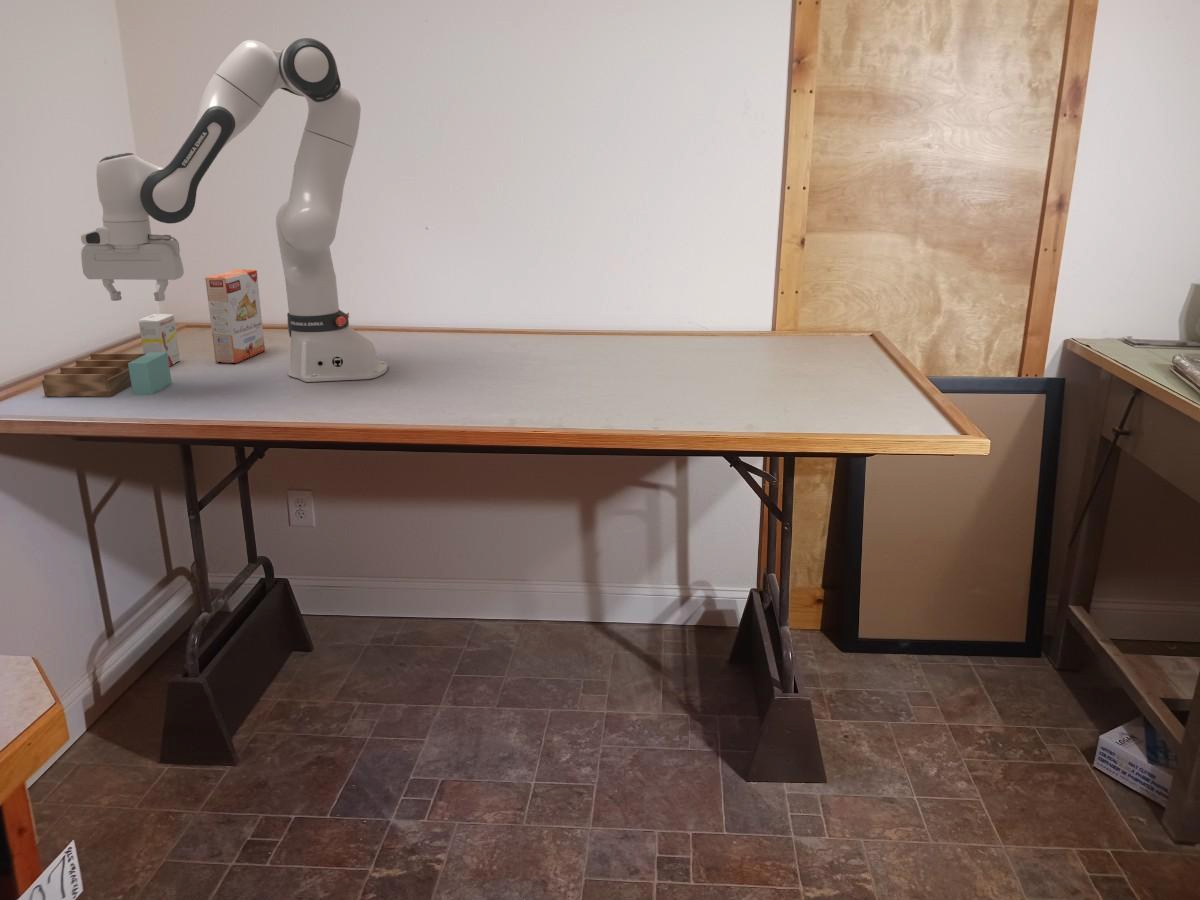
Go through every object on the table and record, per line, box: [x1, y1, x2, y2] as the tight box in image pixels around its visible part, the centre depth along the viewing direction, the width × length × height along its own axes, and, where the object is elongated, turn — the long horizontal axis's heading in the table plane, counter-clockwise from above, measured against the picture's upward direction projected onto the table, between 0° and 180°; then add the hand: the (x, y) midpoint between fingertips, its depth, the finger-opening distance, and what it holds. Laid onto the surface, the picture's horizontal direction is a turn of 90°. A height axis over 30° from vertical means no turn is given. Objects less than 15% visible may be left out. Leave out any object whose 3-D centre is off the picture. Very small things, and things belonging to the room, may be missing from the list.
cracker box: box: [204, 268, 266, 364], centre depth 238 cm, size 14×6×21 cm, turn 168°
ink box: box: [138, 313, 181, 367], centre depth 232 cm, size 9×5×12 cm, turn 177°
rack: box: [41, 352, 147, 398], centre depth 216 cm, size 14×20×5 cm
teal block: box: [128, 353, 172, 396], centre depth 213 cm, size 4×10×7 cm, turn 179°
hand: (138, 300), depth 208 cm, fingers open, 8 cm apart
